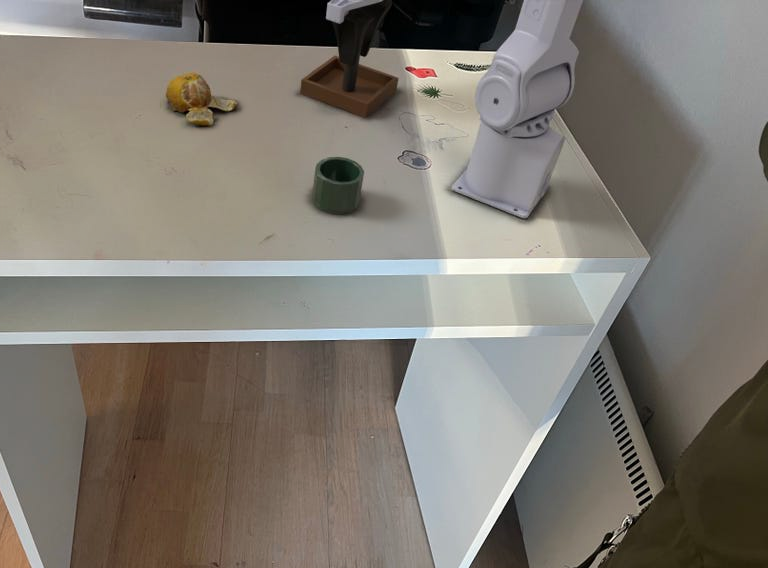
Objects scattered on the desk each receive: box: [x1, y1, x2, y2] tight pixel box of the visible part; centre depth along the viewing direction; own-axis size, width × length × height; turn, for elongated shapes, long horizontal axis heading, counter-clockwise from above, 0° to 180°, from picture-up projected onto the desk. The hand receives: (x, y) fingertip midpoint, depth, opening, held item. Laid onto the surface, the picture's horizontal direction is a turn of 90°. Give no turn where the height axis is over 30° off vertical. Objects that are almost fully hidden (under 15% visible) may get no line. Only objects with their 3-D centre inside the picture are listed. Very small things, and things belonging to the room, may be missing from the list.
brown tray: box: [299, 55, 399, 119], centre depth 103 cm, size 10×9×2 cm
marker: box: [342, 44, 362, 92], centre depth 100 cm, size 2×2×8 cm
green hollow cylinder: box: [311, 156, 365, 215], centre depth 85 cm, size 5×5×4 cm
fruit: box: [165, 72, 238, 126], centre depth 97 cm, size 8×8×4 cm
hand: (353, 58), depth 100 cm, fingers open, 3 cm apart
